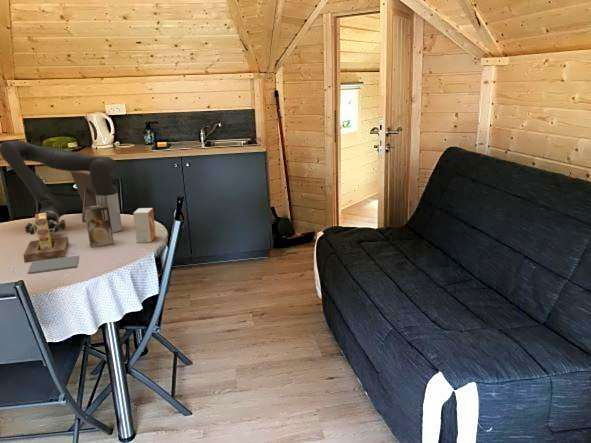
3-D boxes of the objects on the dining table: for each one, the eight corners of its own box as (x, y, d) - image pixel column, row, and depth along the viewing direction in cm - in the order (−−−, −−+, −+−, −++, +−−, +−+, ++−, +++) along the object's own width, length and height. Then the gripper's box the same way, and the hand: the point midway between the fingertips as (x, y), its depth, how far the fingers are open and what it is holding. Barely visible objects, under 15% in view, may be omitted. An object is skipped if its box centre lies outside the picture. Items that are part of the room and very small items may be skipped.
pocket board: (68, 243, 202) (67, 236, 201) (65, 257, 185) (64, 249, 185) (31, 248, 197) (30, 241, 196) (24, 262, 181) (23, 254, 180)
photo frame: (95, 211, 254) (87, 164, 247) (116, 217, 241) (109, 168, 233) (67, 217, 244) (58, 168, 237) (87, 224, 230) (79, 173, 223)
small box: (151, 242, 201) (148, 212, 197) (136, 242, 201) (132, 212, 197) (156, 236, 209) (153, 207, 205) (141, 237, 209) (138, 208, 205)
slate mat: (78, 256, 185) (78, 255, 185) (77, 267, 175) (76, 265, 174) (32, 262, 180) (32, 261, 180) (27, 274, 169) (27, 272, 169)
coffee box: (112, 240, 205) (107, 203, 201) (114, 244, 200) (109, 206, 196) (89, 243, 201) (83, 206, 197) (90, 247, 196) (84, 209, 191)
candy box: (53, 255, 188) (47, 217, 184) (41, 256, 186) (34, 219, 182) (52, 248, 196) (46, 212, 192) (41, 250, 194) (34, 213, 190)
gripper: (28, 214, 200) (21, 224, 185) (65, 210, 205) (62, 219, 190) (31, 231, 202) (25, 242, 187) (68, 227, 207) (65, 237, 192)
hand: (43, 231), depth 189 cm, fingers open, 8 cm apart
